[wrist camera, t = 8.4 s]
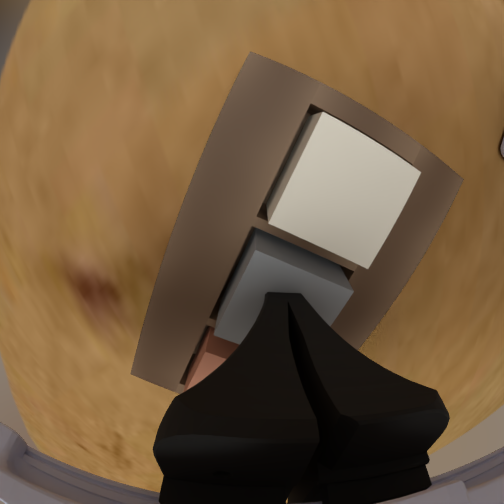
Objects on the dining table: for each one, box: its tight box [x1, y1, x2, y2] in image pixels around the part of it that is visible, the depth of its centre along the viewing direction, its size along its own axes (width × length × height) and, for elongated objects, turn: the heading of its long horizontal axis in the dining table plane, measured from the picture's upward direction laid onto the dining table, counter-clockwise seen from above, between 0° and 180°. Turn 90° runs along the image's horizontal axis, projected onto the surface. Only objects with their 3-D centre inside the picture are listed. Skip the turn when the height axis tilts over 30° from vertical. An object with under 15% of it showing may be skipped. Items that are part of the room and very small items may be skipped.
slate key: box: [214, 227, 354, 345], centre depth 12 cm, size 4×4×3 cm
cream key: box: [266, 112, 421, 269], centre depth 10 cm, size 4×4×3 cm
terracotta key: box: [183, 326, 239, 392], centre depth 14 cm, size 4×4×3 cm
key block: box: [131, 52, 464, 394], centre depth 14 cm, size 10×16×3 cm, turn 156°
